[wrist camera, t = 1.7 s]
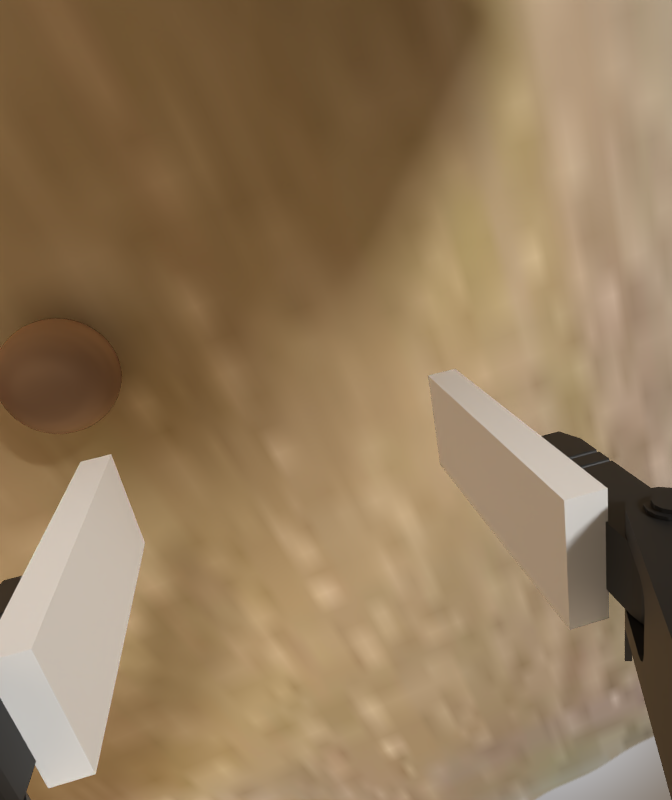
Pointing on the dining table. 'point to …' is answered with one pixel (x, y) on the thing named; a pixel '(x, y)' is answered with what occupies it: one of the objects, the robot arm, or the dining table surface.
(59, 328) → the brown ball
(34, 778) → the dining table surface
